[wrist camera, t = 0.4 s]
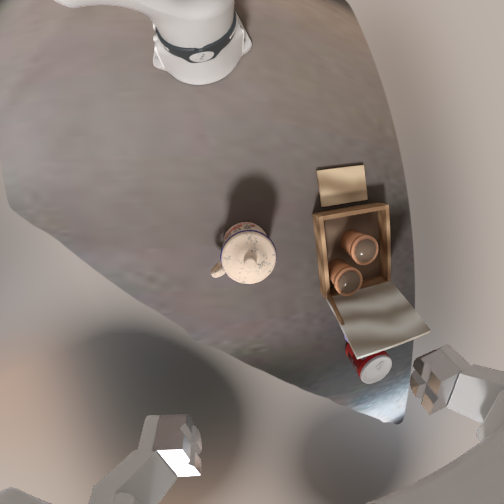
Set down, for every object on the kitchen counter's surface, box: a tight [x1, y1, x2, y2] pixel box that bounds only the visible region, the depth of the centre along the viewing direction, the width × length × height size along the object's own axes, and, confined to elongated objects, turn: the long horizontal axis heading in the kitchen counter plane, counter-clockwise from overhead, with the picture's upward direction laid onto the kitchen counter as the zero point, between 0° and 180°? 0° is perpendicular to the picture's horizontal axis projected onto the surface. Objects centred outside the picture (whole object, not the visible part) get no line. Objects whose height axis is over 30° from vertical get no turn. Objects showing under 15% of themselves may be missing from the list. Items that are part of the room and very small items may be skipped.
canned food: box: [346, 342, 392, 384], centre depth 59 cm, size 8×8×11 cm
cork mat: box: [316, 165, 368, 207], centre depth 52 cm, size 7×10×1 cm
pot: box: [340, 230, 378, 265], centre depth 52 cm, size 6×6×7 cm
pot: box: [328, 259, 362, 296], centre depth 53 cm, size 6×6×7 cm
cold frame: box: [312, 202, 431, 359], centre depth 47 cm, size 20×15×20 cm
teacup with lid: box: [211, 222, 277, 284], centre depth 48 cm, size 12×9×12 cm
